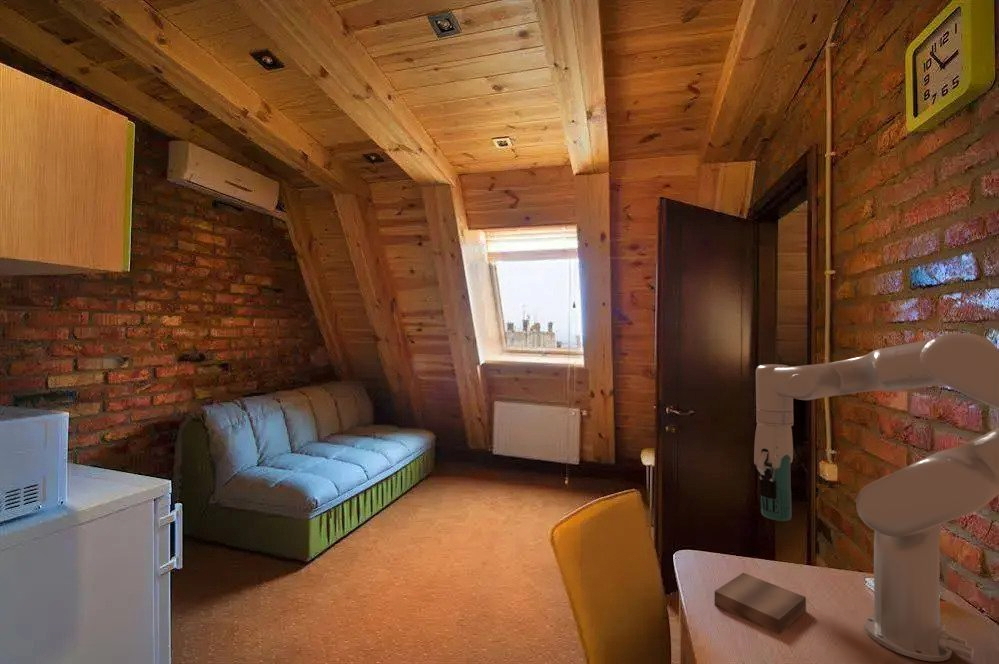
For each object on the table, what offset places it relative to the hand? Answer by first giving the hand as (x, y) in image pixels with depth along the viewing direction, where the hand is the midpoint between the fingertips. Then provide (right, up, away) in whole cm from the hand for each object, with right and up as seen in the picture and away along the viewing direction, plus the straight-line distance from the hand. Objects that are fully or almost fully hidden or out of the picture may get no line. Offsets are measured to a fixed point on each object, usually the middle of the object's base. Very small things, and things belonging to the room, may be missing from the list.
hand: (775, 493), depth 110 cm
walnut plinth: (-9, -21, -9) cm, 25 cm away
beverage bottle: (0, -7, 0) cm, 7 cm away
